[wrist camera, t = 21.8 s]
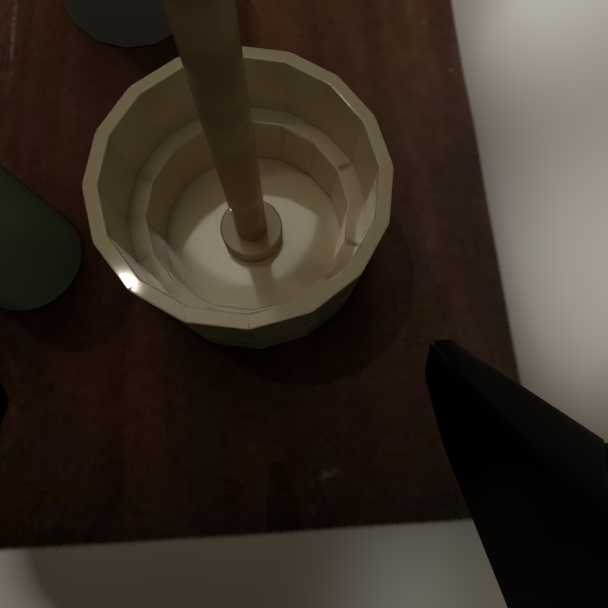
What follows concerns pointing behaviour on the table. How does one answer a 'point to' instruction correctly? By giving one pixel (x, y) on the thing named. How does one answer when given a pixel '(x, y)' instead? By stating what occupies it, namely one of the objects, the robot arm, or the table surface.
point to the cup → (121, 20)
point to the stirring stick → (226, 120)
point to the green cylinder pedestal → (33, 247)
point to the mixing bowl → (212, 204)
